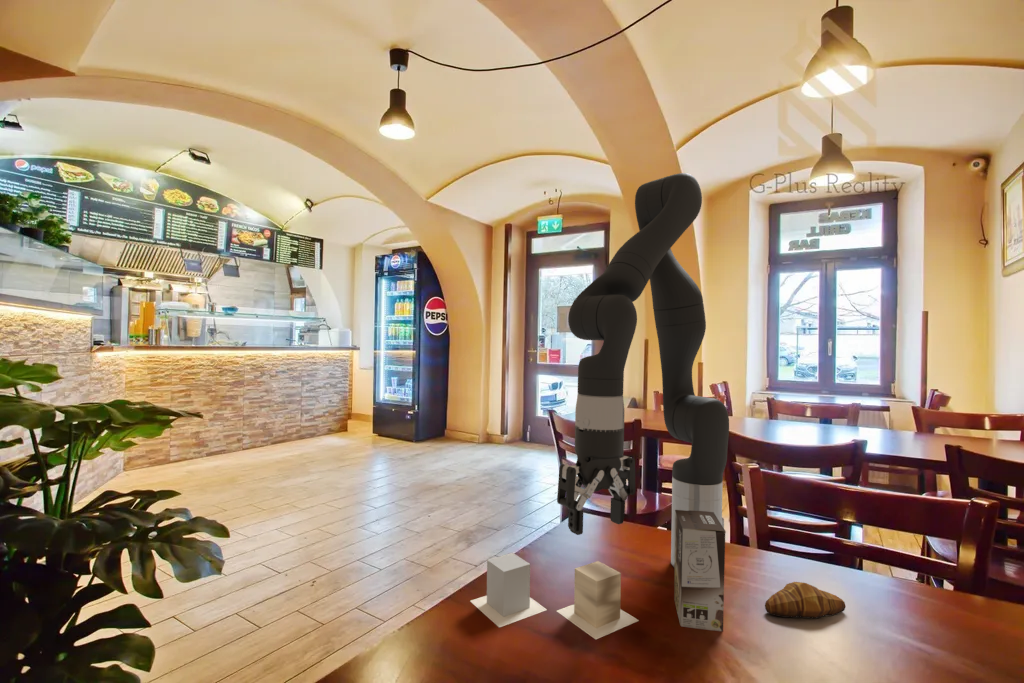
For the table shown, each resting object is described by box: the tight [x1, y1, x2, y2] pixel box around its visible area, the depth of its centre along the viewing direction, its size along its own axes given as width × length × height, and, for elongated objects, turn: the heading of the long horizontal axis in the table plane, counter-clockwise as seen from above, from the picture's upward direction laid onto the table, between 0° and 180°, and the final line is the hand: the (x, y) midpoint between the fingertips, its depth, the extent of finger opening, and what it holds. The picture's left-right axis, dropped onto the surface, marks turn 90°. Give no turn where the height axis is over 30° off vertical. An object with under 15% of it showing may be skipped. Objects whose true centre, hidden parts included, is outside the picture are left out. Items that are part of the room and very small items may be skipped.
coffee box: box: [673, 510, 727, 632], centre depth 80 cm, size 9×6×16 cm
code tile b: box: [469, 594, 548, 628], centre depth 82 cm, size 9×9×1 cm
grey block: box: [486, 552, 531, 617], centre depth 82 cm, size 5×5×7 cm
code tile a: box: [556, 603, 640, 640], centre depth 79 cm, size 9×9×1 cm
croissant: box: [764, 581, 846, 619], centre depth 83 cm, size 14×7×5 cm, turn 96°
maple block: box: [573, 560, 622, 628], centre depth 79 cm, size 5×5×7 cm
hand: (596, 527), depth 79 cm, fingers open, 8 cm apart
